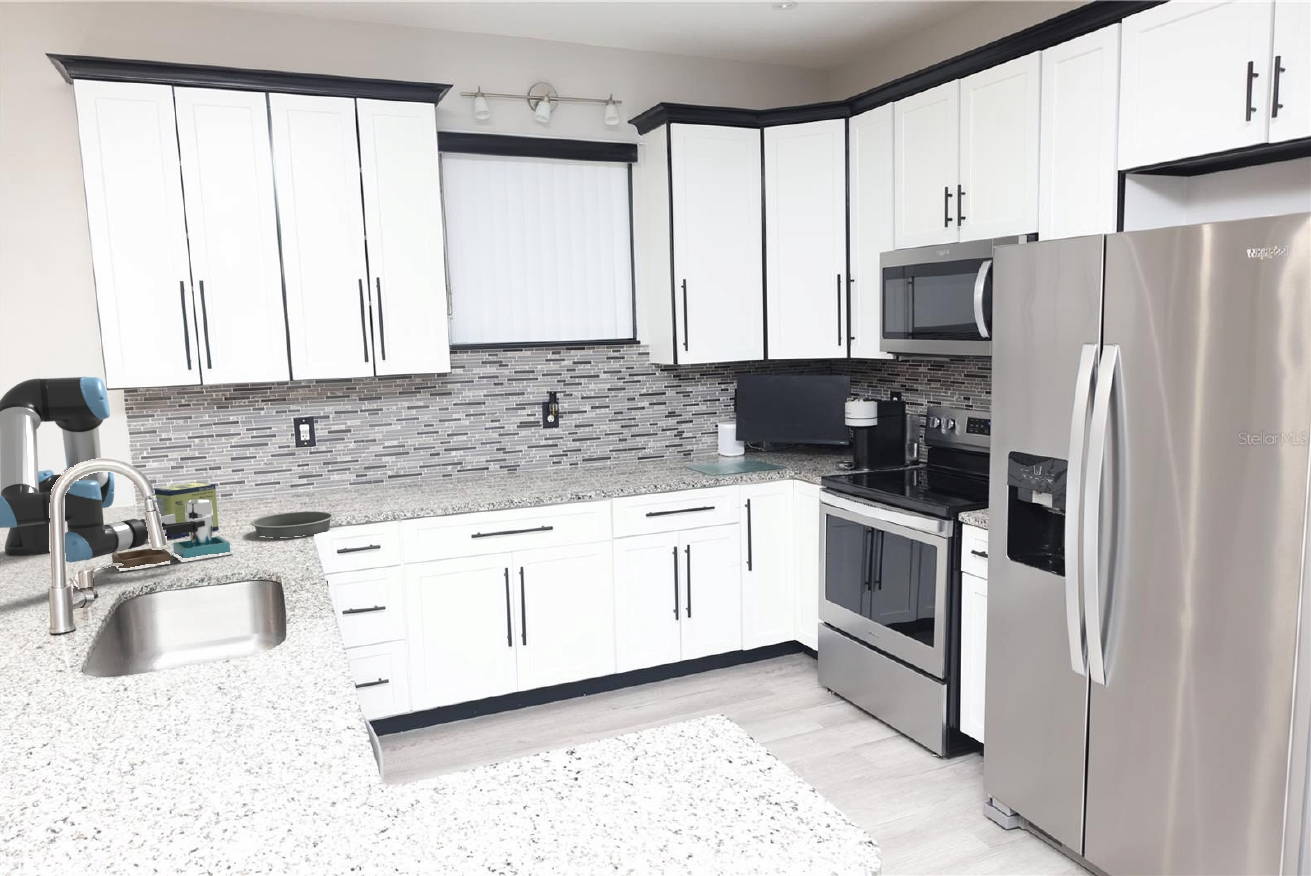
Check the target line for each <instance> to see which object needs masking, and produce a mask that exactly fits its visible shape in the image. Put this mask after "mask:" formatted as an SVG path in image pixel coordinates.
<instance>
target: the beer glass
mask: <svg viewBox="0 0 1311 876" xmlns="http://www.w3.org/2000/svg"><path fill="white" fill-rule="evenodd" d="M207 516H212V523H213V509H212V503H211V500H210V499H198V500H191V501H187V502H185V518H186V522H190V520H194V519H199V518H203V517H207ZM212 528H213V526H209V527H205V528H201V529H198V531H197V532H195V533H193V532H189V535H190V536H189V538H190V539H189V540H191V548H192V547H198V546H205V545H212V537H213V535H212V534H213V532H212Z"/></svg>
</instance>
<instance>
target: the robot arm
mask: <svg viewBox="0 0 1311 876" xmlns="http://www.w3.org/2000/svg"><path fill="white" fill-rule="evenodd" d="M107 395H108V394H107V389H106V386H105V383H104V381H103V380H102V379H101V378H99V377H95V376H93V377H91V376H81V377H80V376H79V377H78V376H77V377H55V378H49V377H48V378H31V379H26V380H24V381H22V382H20V383H18V384H16V385H14V386H13V387H11V388H10V389H9V390H7V392H6V393H5V394H4V395H3V396H2V397H1V398H0V529H6V528H8V529H9V531H8V533H7V538H6V541H5V544H4V555H6V556H11V557H12V556H13V557H14V556H17V557H18V556H31V555H40V554H41V555H42V554H47V553H50V552H49V523H50V518H49V503H50V495H51V489H52V487H53V485H54V484H55V482H56V480H57V479H58V478H59V477H60V476H61V474H62V473H61V474H55V472H54V471H53V470H51V469H46V470H41V471H40V470H39V460H38V438H37V437H38V435H37V434H38V433H37V432H38V431H37V430H38V429H39V427H40V426H41V424H42V423H46V422H47V423H49V422H50V423H52V422H54V423H55V425H57V427H58V428H60V429H61V432H62V440H63V447H64V455H65V456H64V457H65V463H66V467H65V468H64V470H63V472H65V471H66V470H68V469H69V468H70V467H74V465H76V464H78V463H80V462H84V461H88V460H91V459H96V458H101V459H102V454H101V441H100V432H99V431H100V429H99V428H100V426H101V425H102V424H103V422H104V420H105V419H108V418H110V414H111V411H110V403H109V400H108V396H107ZM114 498H115V477H114V472H113V473H111V472H97V473H93V474H89V475H88V476H84V477H83V478H81V479H79V481H75V482H74V483H73V484H72V485H71V486H70V489H69V490H68V491H67V493H66V495H65V521H64V522H66V526H67V531H66V532H64V533H65V553H66V561H65V562H67V563H75V562H76V563H77V562H83V561H89V560H91V559H95V558H99V557H103V556H106V555H112V554H113V555H116V554H117V553H119V552H124V551H126V550H131V549H132V550H133V549H135V548H140V547H142V546H144V544H145V543H146V541H147V539H149V538H148V531H147V527H146V522H145V521H146V519H144V518H141V519H138V518H130V519H125V520H121V521H115V522H112V523H106V524H105V523H104V513H103V511H104V510H103V509H106V508H107V509H108V508H110V507H111V506H112V504H113V503H114ZM161 520H162V527H163V530H164V533H165V536H169V535H176V534H182V533H189V532H193V533H195V532H197V531H198V529H201V528H205V527H209V526H213V523H212V516H207V517H203V518H199V519H194V520H190V522H181V523H176V520H175V514H171V515H166V516H162V517H161Z"/></svg>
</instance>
